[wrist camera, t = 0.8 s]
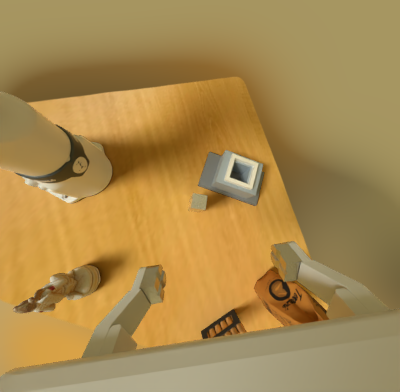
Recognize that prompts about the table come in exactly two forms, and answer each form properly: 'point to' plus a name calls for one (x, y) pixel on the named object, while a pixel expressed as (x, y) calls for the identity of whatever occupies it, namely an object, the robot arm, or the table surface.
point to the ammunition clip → (224, 326)
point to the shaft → (197, 203)
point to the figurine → (62, 289)
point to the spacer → (245, 161)
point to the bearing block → (240, 171)
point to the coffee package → (288, 301)
